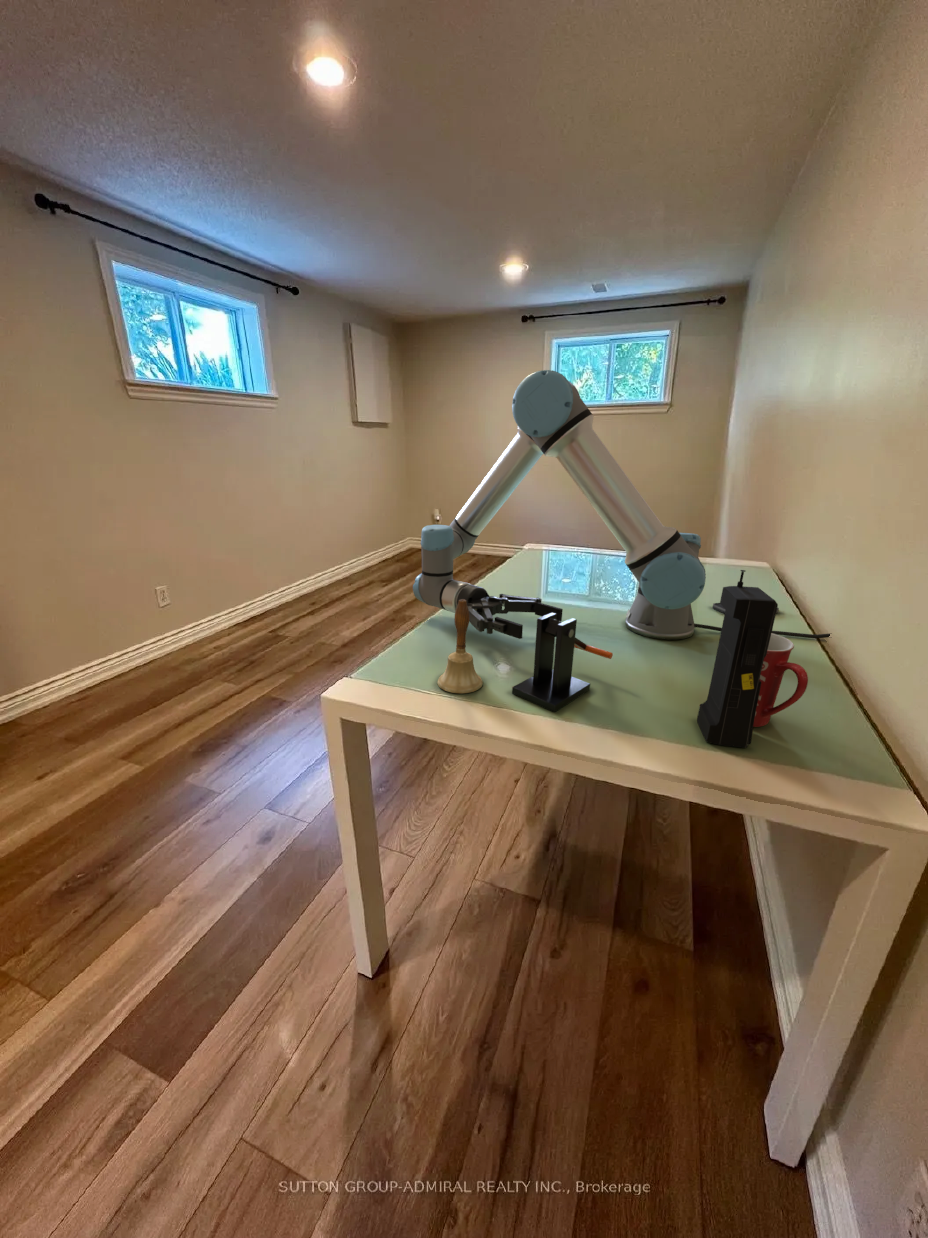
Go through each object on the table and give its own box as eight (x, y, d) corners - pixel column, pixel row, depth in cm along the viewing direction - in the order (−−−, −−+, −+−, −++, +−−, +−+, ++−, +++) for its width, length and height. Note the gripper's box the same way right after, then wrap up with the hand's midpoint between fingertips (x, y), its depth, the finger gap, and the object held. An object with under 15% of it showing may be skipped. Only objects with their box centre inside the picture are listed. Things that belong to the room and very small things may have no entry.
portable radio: (753, 754, 70) (795, 586, 62) (708, 748, 71) (744, 583, 63) (736, 724, 77) (772, 570, 69) (695, 720, 78) (726, 568, 70)
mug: (699, 706, 83) (714, 631, 78) (741, 698, 85) (757, 625, 81) (763, 748, 71) (785, 664, 67) (809, 737, 74) (833, 656, 70)
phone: (711, 603, 132) (757, 599, 135) (710, 607, 132) (756, 603, 135) (732, 612, 124) (781, 608, 128) (732, 617, 125) (780, 612, 128)
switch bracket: (548, 673, 94) (553, 605, 89) (589, 690, 88) (597, 617, 83) (511, 693, 86) (515, 620, 81) (554, 712, 80) (561, 634, 76)
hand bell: (472, 670, 95) (474, 591, 89) (489, 689, 87) (492, 604, 82) (431, 676, 92) (430, 595, 86) (445, 697, 85) (445, 610, 79)
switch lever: (558, 645, 96) (563, 634, 96) (610, 662, 89) (614, 650, 89) (523, 624, 85) (528, 612, 85) (578, 642, 78) (583, 628, 78)
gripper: (500, 603, 122) (574, 625, 108) (425, 629, 105) (501, 658, 91) (501, 574, 120) (577, 592, 106) (425, 595, 103) (502, 620, 89)
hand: (542, 623), depth 98 cm, fingers open, 13 cm apart
